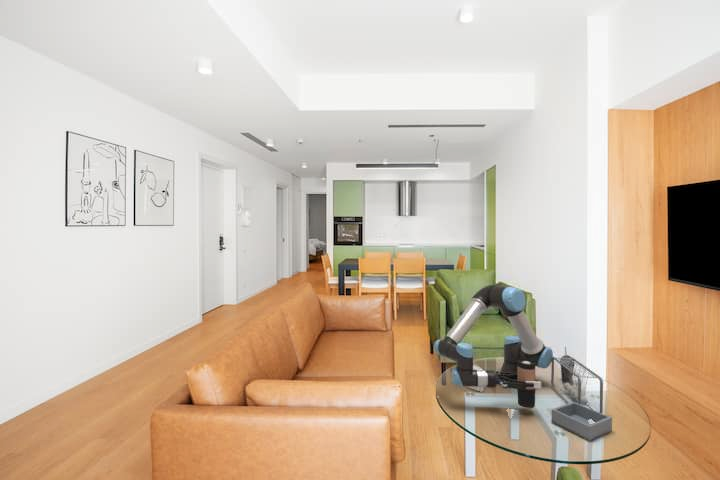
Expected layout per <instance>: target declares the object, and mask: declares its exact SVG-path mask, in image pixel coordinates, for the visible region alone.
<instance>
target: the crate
mask: <svg viewBox="0 0 720 480" xmlns="http://www.w3.org/2000/svg"><path fill="white" fill-rule="evenodd" d="M597 411H598V410H597ZM597 411H595V410H592V409H591V408H590V407H589V406H585V405H582V404H581V405H580V404H578V402H575V401H572V402H569V404H567V403H565V404H563V405H560V406H558V407H555V408H552V409H551V419H550V420H551V424H553V425H555V426H556V427H559V428H561V429H563V430H564V431H566V432H569V433H571V434H572V435H575V436H576V437H579V438H581V439H583V440H585V441H586V442H589V443H590V442H593V441H595V440H597V439H600V438H602V437H604V436H606V435H608V434H610V433H612V432H613V417H611V416H609V415H606V414H605V413H600V411H598V412H597ZM589 419H592V420H593V421H594V422H595V423H593V424H589V422H588V420H589Z"/></svg>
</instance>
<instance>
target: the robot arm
mask: <svg viewBox="0 0 720 480" xmlns="http://www.w3.org/2000/svg"><path fill="white" fill-rule="evenodd" d="M526 300H527V298H526V295H525V294H524V292H523V290H521V289H520V288H518V287H517V288H516V287H513V286H505V285H498V284H488V285H486V286H484V287H482V288H481V289H478V291H476V293H474V295H473V296H472V297H471V299H470V302H469V304H468V306H467V307H466V309H465V310H464V311H463V313H462V314H461V315H460V317H459V318H458V319H457V321H456V322H455V323H454V324H453V326H452V327H451V328H450V330H449V331H448V332H447V333H446V334H445V336H444V337H443V339H437V340H436V341H435V342H434V344H433V350H434V352H435V353H436V354H437V355H439V356H440V357H444V358H447V359H449V360H451V361H453V362H455V363H456V364H455V365H456V367H455V368H452V369H451V381H452V384H453V385H454V386H457V387H458V386H459V387H466V386H472V387H479V388H481V387H484V388H486V387H487V388H490V389H491V388H492V389H495V388H496V387H497V385H500V386H501V387H502V389H514V390H517V389H521V390H526V388H536V389H542V382H541V381H525V382H523V381H517V367H518V359H529V360H532V361H534V362H535V367H537V368H538V369H539V368H541V369H547V368H548V367H549V366H550V365H552V357H554V352H553V350H552V348H551V347H549V346H545V344H544V341H542V339H540V338H539V337H537V335H536V332H535V331H534V328H533V327H532V325H531V323H530V321H529V319H528V317H527V315H526V313H525V311H524V309H525V307H526V302H527V301H526ZM491 307H493V308H497V309H499V310H500V312H501V315H503V316H504V317H507V319H508V321H509V323H510V324H511V326H512V329H513V330H514V332H515V334H516V335H509V336H506V337H504V341H503V363H502V366H501V369H500V371H494V370H490V369H489V370H487V369H486V370H485V369H483V370H473V365H474V349H473V348H474V347H473V345H472V344H470V343H466V342H462V341H463V339H464V338H465V337H466V335H468V333H469V331H470V330H471V328H472V327H473V326H474V324H475V323H476V322H477V321H478V319H479V318H480V316H481V315H482V314H483V312H486V311H487V310H488V309H489V308H491Z"/></svg>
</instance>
